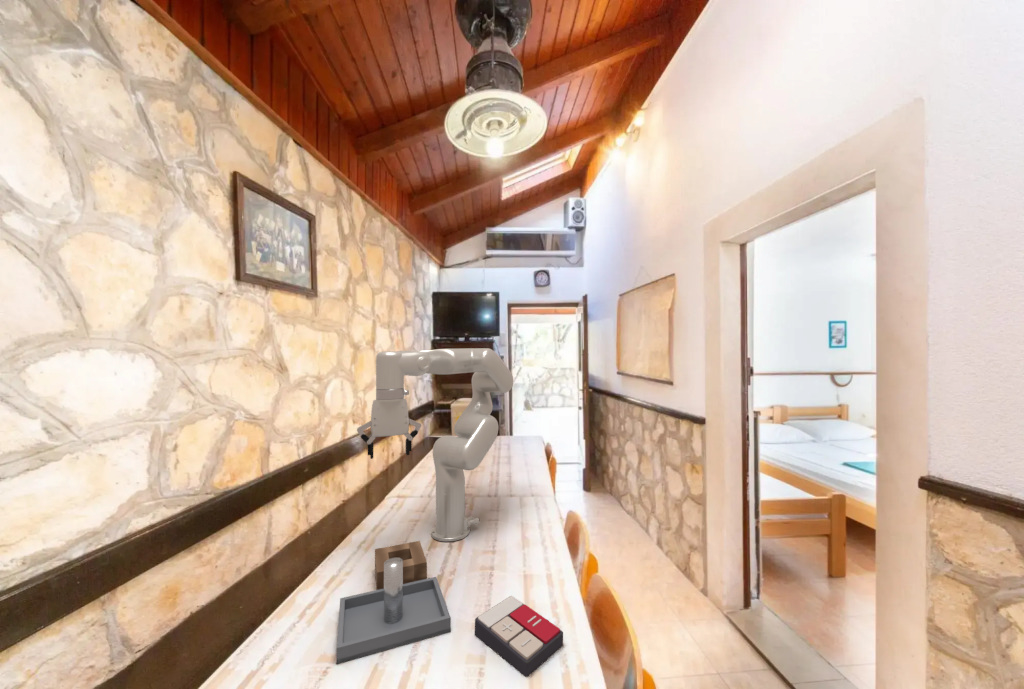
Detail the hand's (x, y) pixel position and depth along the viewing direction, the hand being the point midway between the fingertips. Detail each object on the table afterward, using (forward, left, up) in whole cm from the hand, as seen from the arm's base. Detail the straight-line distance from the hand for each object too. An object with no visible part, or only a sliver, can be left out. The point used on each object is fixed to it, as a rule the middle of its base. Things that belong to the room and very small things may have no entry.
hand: (389, 455), depth 107 cm
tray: (+1, +24, -30) cm, 39 cm away
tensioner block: (-2, +8, -30) cm, 31 cm away
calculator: (-22, +39, -31) cm, 55 cm away
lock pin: (+1, +24, -30) cm, 38 cm away
